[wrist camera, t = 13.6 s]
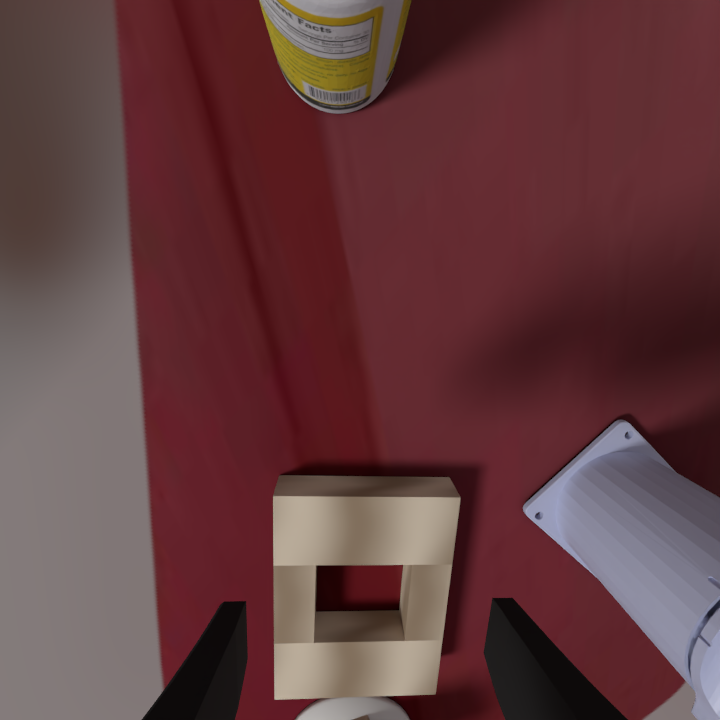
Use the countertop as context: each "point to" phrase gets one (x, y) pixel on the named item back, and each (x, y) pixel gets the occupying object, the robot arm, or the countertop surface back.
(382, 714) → the coaster
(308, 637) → the holder block
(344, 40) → the supplement bottle
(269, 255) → the countertop surface
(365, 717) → the plug peg
